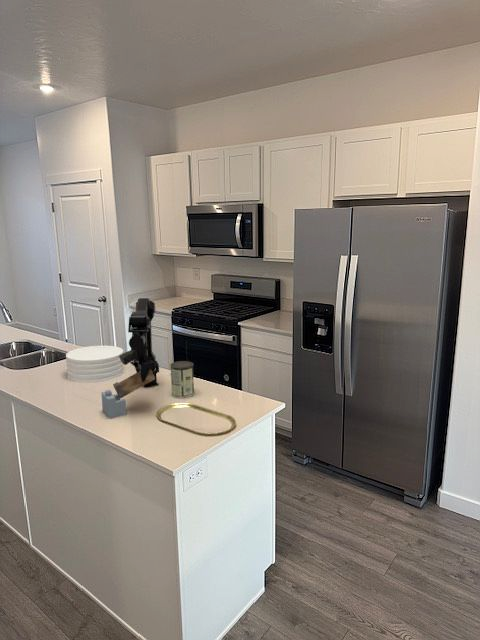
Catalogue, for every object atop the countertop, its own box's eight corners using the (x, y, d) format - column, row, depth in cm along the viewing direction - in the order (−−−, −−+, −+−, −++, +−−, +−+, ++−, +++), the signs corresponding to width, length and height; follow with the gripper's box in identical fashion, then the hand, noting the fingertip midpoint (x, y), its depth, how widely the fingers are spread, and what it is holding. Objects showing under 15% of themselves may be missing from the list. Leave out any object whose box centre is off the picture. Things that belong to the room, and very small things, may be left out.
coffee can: (179, 388, 207) (178, 359, 204) (198, 392, 203) (197, 362, 200) (166, 396, 198) (165, 365, 195) (186, 399, 194) (185, 368, 191)
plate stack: (102, 362, 248) (100, 342, 246) (135, 371, 232) (134, 350, 230) (56, 375, 226) (54, 354, 224) (90, 386, 210) (88, 363, 208)
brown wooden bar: (152, 376, 189) (147, 365, 187) (155, 378, 186) (150, 367, 184) (118, 395, 182) (112, 384, 180) (120, 398, 179) (115, 387, 177)
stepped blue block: (119, 407, 185) (118, 384, 183) (126, 414, 178) (125, 390, 176) (102, 410, 182) (101, 387, 180) (109, 418, 174) (107, 394, 172)
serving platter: (214, 442, 156) (214, 438, 155) (146, 417, 176) (146, 414, 176) (245, 423, 171) (245, 419, 170) (179, 403, 191) (179, 399, 190)
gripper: (113, 342, 185) (115, 377, 188) (128, 351, 170) (130, 390, 173) (139, 338, 191) (140, 373, 194) (155, 347, 176) (157, 385, 179)
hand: (141, 380), depth 185 cm, fingers closed on brown wooden bar, 4 cm apart
